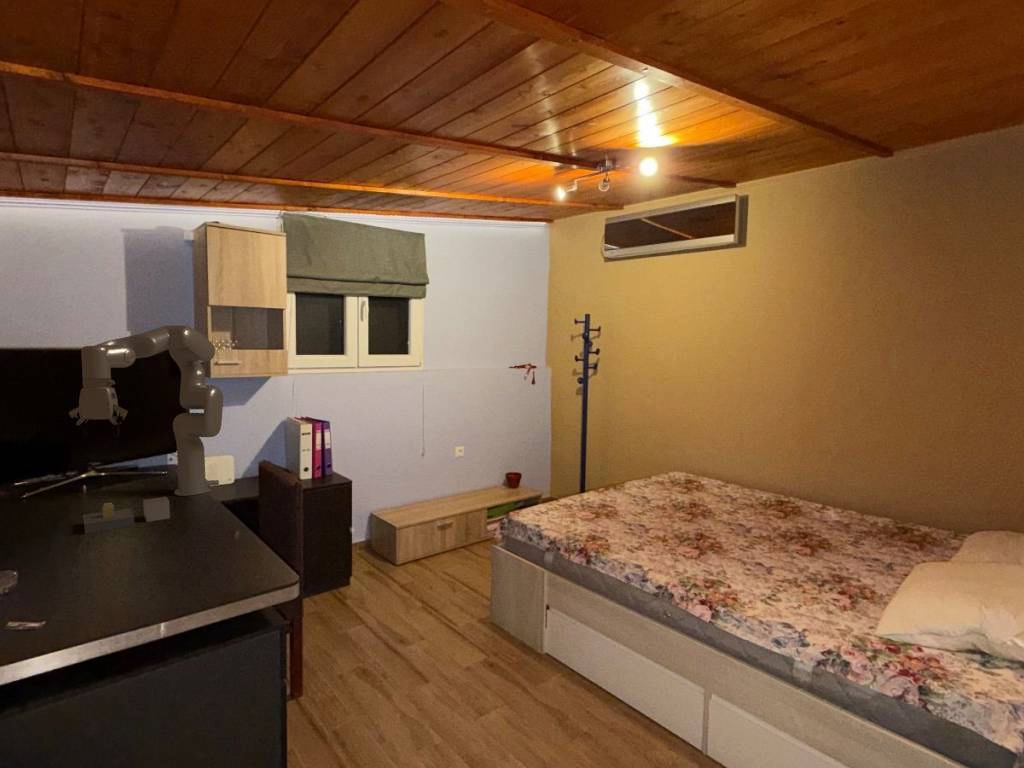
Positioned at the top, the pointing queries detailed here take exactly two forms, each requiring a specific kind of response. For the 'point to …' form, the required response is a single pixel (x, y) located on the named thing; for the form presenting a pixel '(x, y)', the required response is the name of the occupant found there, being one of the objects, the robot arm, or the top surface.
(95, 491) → the top surface
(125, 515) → the grey block
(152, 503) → the grey cube
